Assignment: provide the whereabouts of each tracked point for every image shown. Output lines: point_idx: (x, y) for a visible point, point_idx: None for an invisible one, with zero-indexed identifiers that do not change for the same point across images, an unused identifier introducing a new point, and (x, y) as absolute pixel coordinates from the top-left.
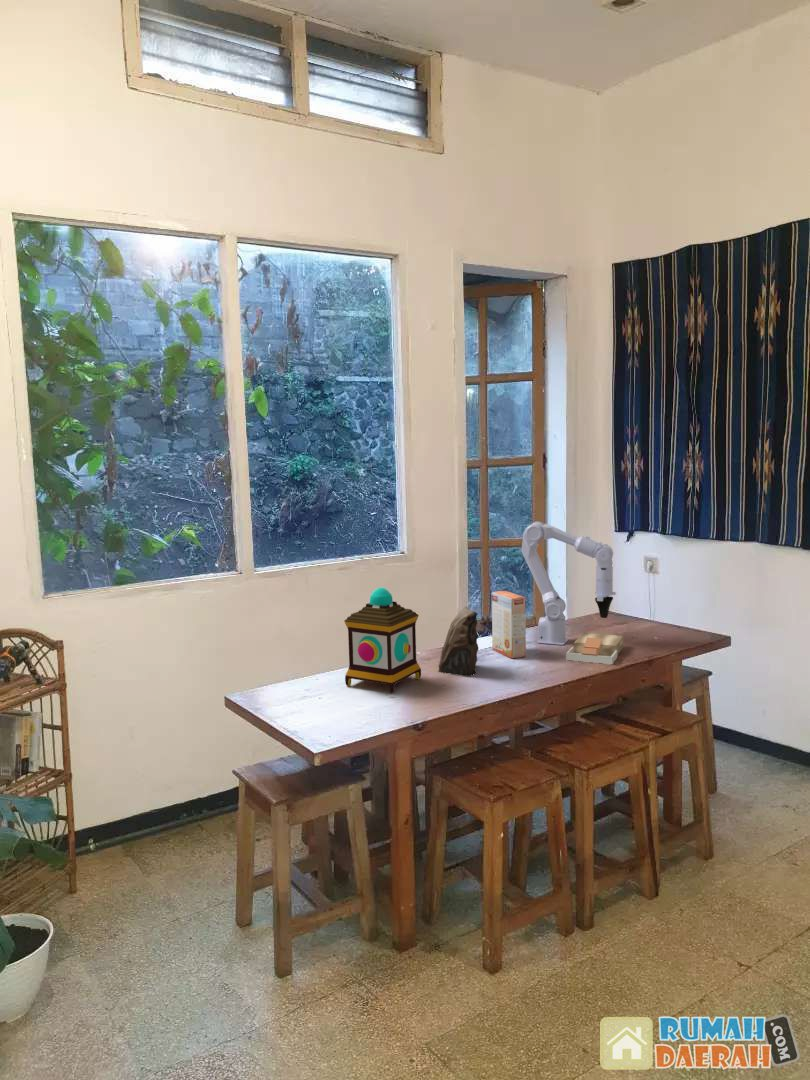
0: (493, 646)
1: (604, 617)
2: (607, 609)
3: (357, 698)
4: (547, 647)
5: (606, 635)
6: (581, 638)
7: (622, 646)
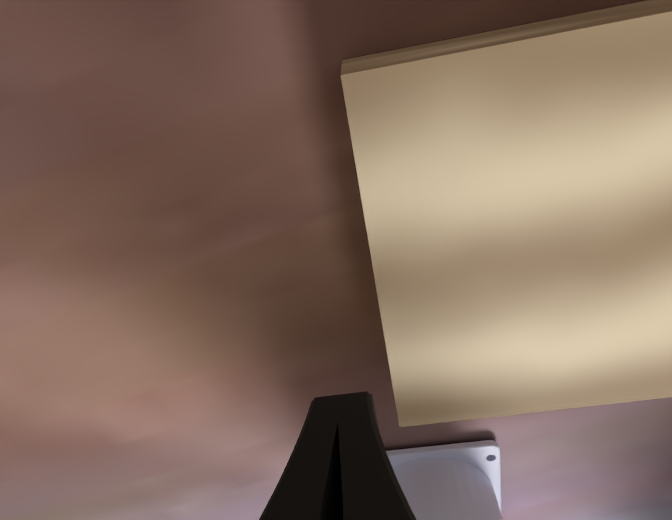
0: None
1: (375, 417)
2: (411, 513)
3: None
4: (569, 482)
5: (404, 248)
6: (604, 383)
7: (389, 52)
